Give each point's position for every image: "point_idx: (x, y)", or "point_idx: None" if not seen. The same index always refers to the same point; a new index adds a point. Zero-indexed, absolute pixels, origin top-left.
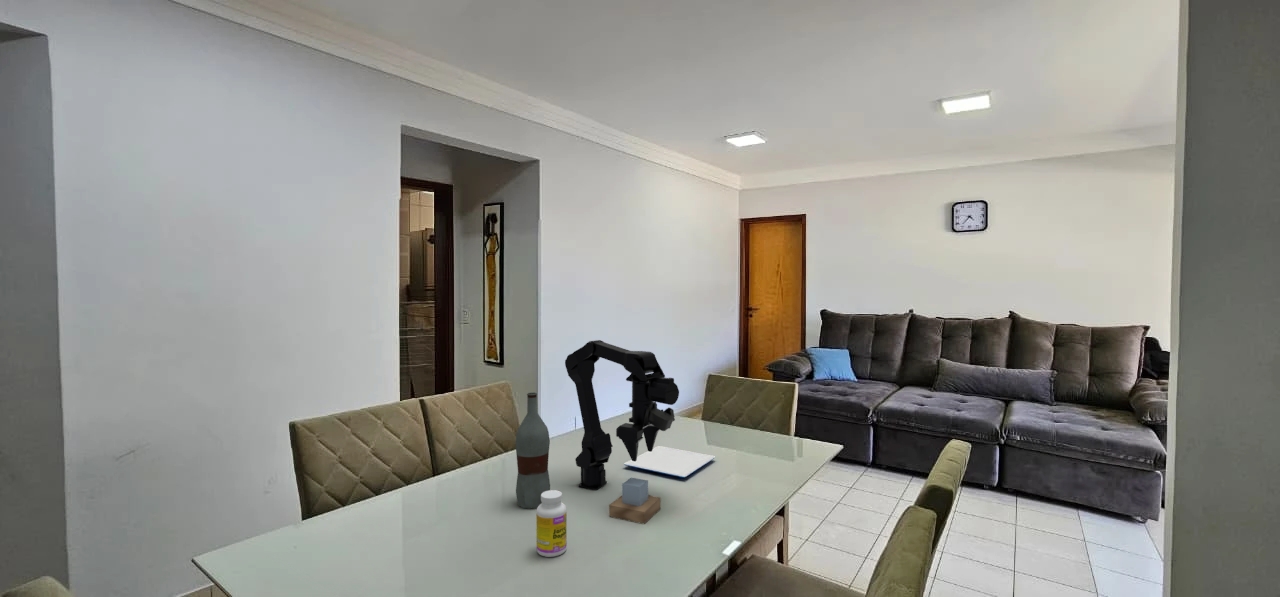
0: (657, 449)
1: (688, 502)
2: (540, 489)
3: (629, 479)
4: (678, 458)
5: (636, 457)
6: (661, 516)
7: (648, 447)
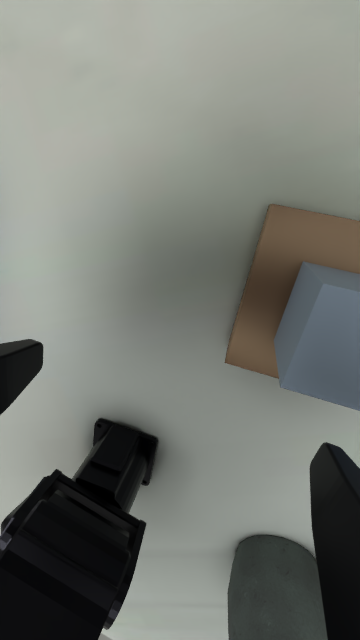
0: None
1: (175, 87)
2: (322, 616)
3: (315, 391)
4: None
5: (350, 471)
6: (353, 181)
7: (19, 383)
